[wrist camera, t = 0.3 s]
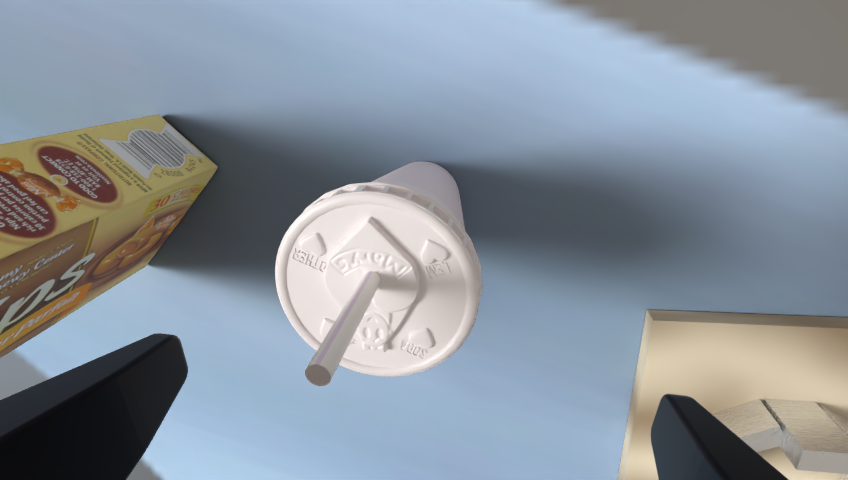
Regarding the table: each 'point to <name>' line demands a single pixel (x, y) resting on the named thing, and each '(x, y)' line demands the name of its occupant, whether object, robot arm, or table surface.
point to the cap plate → (734, 372)
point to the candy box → (87, 215)
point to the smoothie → (381, 275)
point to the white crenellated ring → (793, 432)
